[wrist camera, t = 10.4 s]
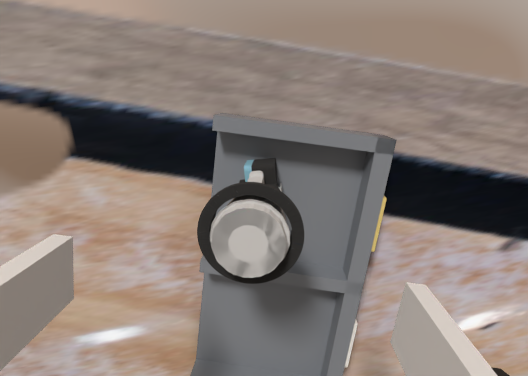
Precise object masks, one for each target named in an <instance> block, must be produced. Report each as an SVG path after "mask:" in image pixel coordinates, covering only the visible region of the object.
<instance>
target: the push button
mask: <svg viewBox="0 0 528 376" xmlns="http://www.w3.org/2000/svg"><path fill="white" fill-rule="evenodd" d="M244 174H245V179H243V180H240V181H239V183H236V184H233V185H230V186H228V187H225V188H224V189H222V190H220V191H219V192H217V193H216V194H215V195H214V196H213V197H212V198H211V199H210V200H209V202H208V203H207V204H206V206H205V207H204V209H203V211H202V213H201V215H200V218H199V222H198V229H197V235H198V242H199V246H200V249H201V251H202V253H203V255H204V257H205V259H206V260H207V262H208V263H209V264H210V265H211V266H212V267H213V268H214V269H215V270H216V271H217V272H218V273H220V274H221V275H223V276H225V277H227V278H229V279H231V280H233V281H237V282H241V283H247V284H258V283H265V282H269V281H272V280H274V279H277V278H278V277H280V276H282V275H283V274H285V273H286V272H287V271H289V270H290V269H291V268H292V267H293V265H294V264H295V263H296V261H297V260H298V258H299V256H300V254H301V252H302V249H303V244H304V226H303V221H302V217H301V215H300V212H299V211H298V209H297V207H296V206H295V204H294V203H293V202H292V200H291V199H290V198H289V197H288V196H287V195H285V194H284V193H283V192H282V183H281V182H280V187H278V186H277V166H276V158H269V159H256V160H247V162H246V163H245V165H244ZM230 199H232V200H231V201H230V203H229V204H228V205H227V206H226V207H224V208H223V209H222V210H220V211H219V213H218V214H217V216H216V212H217V210H218V208H219V207H220V206H221V205H223V204H224V203H225V202H227V201H228V200H230ZM283 211H284V212H285V214H286V215H287V217H288V219H289V221H290V224H291V227H292V230H291V235H290V231H289V227H288V225H287V223H286V218H285V215H284V213H283ZM215 216H216V217H215Z"/></svg>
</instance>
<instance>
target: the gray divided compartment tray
mask: <svg viewBox="0 0 528 376" xmlns="http://www.w3.org/2000/svg"><path fill="white" fill-rule="evenodd" d="M212 130H214V131H218V133H217V143H216V154H215V165H214V175H213V186H212V196H211V198H212V197H213V196H214V195H215V194H216V193H217V192H219V191H220V190H222V189H224V188H225V187H228V186H230V185H233V184H236V183H239V181H240V180H243V179H245V174H244V165H245V163H246V162H247V160H256V159H269V158H276V166H277V186H278V187H280V182H281V183H282V192H283V193H284V194H285V195H287V196H288V197H289V198H290V199H291V200H292V202H293V203H294V204H295V206H296V207H297V209H298V211H299V212H300V215H301V217H302V221H303V226H304V244H303V249H302V252H301V254H300V256H299V258H298V260H297V261H296V263H295V264H294V265H293V267H292V268H291V269H290V270H289V271H287V272H286V273H285V274H283V275H282V276H280V277H278V278H277V279H274V280H272V281H269V282H265V283H258V284H247V283H241V282H237V281H233V280H231V279H229V278H227V277H225V276H223V275H221V274H220V273H218V272H217V271H216V270H215V269H214V268H213V267H212V266H211V265H210V264H209V263H208V262H207V260H206V259H205V257H204V255H203V256H202V258H201V261H200V272H203V273H204V281H203V292H202V303H201V313H200V324H199V334H198V345H197V356H196V361H195V364H194V367H193V370H192V373H191V376H343V372H344V367H348V363H349V359H350V355H351V350H352V346H353V342H354V337H355V333H356V329H357V324H358V323H357V320H356V315H357V310H358V306H359V302H360V297H361V293H362V289H363V284H364V280H365V275H366V271H367V267H368V262H369V258H370V254H371V251H373V252H374V251H375V247H376V242H377V238H378V234H379V229H380V225H381V221H382V216H383V212H384V208H385V203H386V199H387V198H386V197H385V196H384V192H385V188H386V184H387V179H388V175H389V170H390V166H391V162H392V157H393V153H394V148H395V144H396V139H393V138H390V137H388V136H385V135H380V134H372V133H365V132H358V131H350V130H343V129H336V128H328V127H321V126H314V125H306V124H299V123H291V122H284V121H277V120H269V119H262V118H255V117H247V116H240V115H233V114H225V113H220V114H216V115H214V117H213V128H212ZM231 200H232V199H230V200H228V201H227V202H225V203H224V204H223V205H221V206H220V207H219V208H218V210H217V212H216V216H217V214H218V213H219V211H220V210H222V209H223V208H224V207H226V206H227V205H228V204H229V203H230V201H231ZM283 213H284V215H285V218H286V223H287V225H288V227H289V231H290V235H291V230H292V227H291V224H290V221H289V219H288V217H287V215H286V214H285V212H284V211H283ZM216 216H215V217H216Z"/></svg>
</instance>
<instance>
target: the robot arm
mask: <svg viewBox="0 0 528 376" xmlns="http://www.w3.org/2000/svg"><path fill="white" fill-rule="evenodd" d="M73 299H74V286H73V237H71V236H64V235H57V234H53V235H51V236H50V237H48V238H46V239H45V240H43V241H41V242H40V243H38V244H36V245H35V246H33V247H31V248H30V249H28V250H26V251H25V252H23V253H22V254H20V255H18V256H17V257H15V258H13V259H12V260H10V261H8V262H7V263H5V264H3V265H2V266H0V371H1V370H2V369H3V368H4V367H5V366H6V365H7V364H8V363H9V362H10V361H11V360H12V359H13V358H14V357H15V356H16V355H17V354H18V353H19V352H20V351H21V350H22V349H23V348H24V347H25V346H26V345H27V344H28V343H29V342H30V341H31V340H32V339H33V338H34V337H35V336H36V335H37V334H38V333H39V332H40V331H41V330H42V329H43V328H44V327H45V326H46V325H47V324H48V323H49V322H50V321H51V320H52V319H53V318H54V317H55V316H56V315H57V314H58V313H60V312H61V311H62V310H63V309H64V308H65V307H66V306H67V305H68V304H69V303H70V302H71V301H72V300H73ZM390 342H391V344H392V347H393V349H394V351H395V353H396V355H397V357H398V360H399V362H400V364H401V366H402V368H403V370H404V373H405V375H406V376H509V375H508V374H507V373H505V372H504V371H503V370H502V369H499V368H492V367H490V366H489V364H488V363H487V362H486V360H485V359H484V358H483V357H482V355H481V354H480V353H479V352H478V350H477V349H476V348H475V347H474V345H473V344H472V343H471V342H470V340H469V339H468V338H467V336H466V335H465V334H464V333H463V331H462V330H461V329H460V328H459V326H458V325H457V324H456V323H455V321H454V320H453V319H452V318H451V316H450V315H449V314H448V312H447V311H446V310H445V309H444V307H443V306H442V305H441V304H440V302H439V301H438V300H437V299H436V297H435V296H434V295H433V294H432V292H431V291H430V290H429V289H428V287H427V286H426V285H423V284H416V283H409V282H406V284H405V288H404V292H403V296H402V299H401V303H400V307H399V311H398V315H397V319H396V322H395V326H394V330H393V334H392V338H391V341H390Z"/></svg>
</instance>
